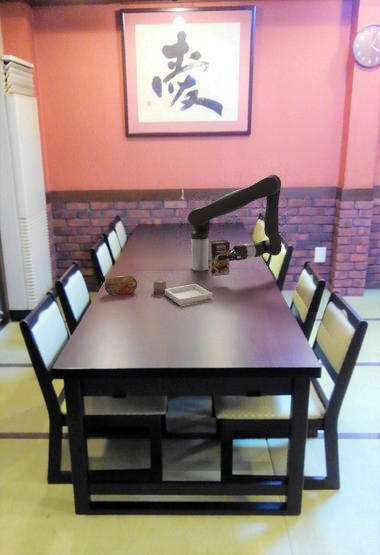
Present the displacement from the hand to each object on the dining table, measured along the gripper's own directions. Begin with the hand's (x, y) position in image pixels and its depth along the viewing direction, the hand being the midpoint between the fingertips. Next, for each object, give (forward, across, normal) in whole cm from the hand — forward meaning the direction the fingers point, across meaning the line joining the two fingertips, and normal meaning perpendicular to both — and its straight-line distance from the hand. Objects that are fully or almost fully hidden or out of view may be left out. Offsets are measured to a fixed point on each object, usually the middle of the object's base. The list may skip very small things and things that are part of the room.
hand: (214, 256), depth 224 cm
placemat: (+19, +8, +15) cm, 25 cm away
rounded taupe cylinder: (+27, -6, +15) cm, 31 cm away
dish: (+19, +8, +15) cm, 25 cm away
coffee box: (-2, 0, +9) cm, 10 cm away
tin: (+43, -13, +16) cm, 48 cm away
